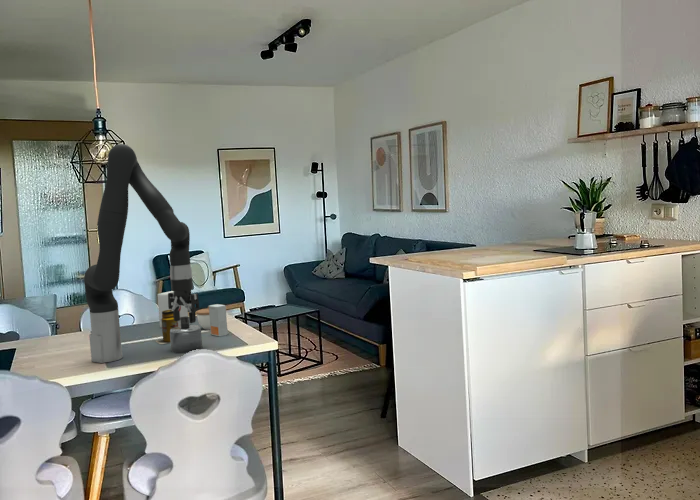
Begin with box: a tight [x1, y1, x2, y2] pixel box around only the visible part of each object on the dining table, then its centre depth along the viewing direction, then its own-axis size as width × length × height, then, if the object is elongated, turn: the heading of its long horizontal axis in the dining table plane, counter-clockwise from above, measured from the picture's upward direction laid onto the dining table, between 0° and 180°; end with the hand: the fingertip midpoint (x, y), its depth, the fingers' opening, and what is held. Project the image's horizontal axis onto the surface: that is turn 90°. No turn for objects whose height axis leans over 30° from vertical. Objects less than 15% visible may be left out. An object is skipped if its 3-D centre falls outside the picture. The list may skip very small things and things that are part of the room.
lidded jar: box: [196, 305, 211, 331], centre depth 258 cm, size 11×11×9 cm
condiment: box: [155, 310, 178, 345], centre depth 237 cm, size 7×8×12 cm
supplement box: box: [157, 290, 189, 329], centre depth 267 cm, size 9×9×15 cm
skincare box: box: [208, 303, 228, 338], centre depth 243 cm, size 6×4×12 cm
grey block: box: [170, 327, 203, 354], centre depth 222 cm, size 11×11×7 cm
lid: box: [170, 315, 201, 333], centre depth 221 cm, size 11×11×5 cm
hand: (184, 321), depth 221 cm, fingers open, 8 cm apart
